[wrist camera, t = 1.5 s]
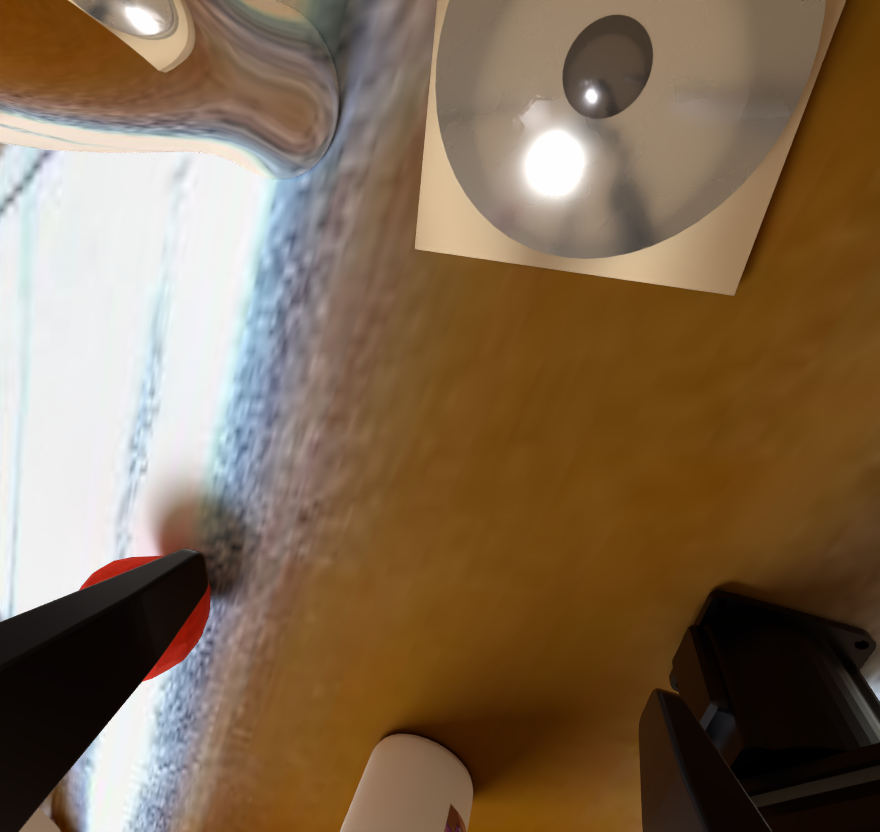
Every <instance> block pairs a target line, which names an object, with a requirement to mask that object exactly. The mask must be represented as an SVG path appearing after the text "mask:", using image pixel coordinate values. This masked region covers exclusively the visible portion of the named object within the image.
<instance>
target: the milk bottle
mask: <svg viewBox="0 0 880 832" xmlns="http://www.w3.org/2000/svg"><path fill="white" fill-rule="evenodd" d="M472 800H473V786H472V781H471V777H470V775H469V773H468V771H467V769H466V767H465V766H464V765H463V763H462V762H461V761H460V760H459V759H458V758H457V757H456V756H455V755H454V754H453V753H451V752H450V751H449V750H447V749H446V748H444V747H443V746H441V745H439V744H438V743H436V742H433V741H431V740H429V739H427V738H423V737H420V736H417V735H411V734H395V735H390V736H388V737H385V738H384V739H383V740H382V741H380V742H379V743H378V744H377V746H376V747H375V748H374V750H373V752H372V754H371V757H370V759H369V761H368V764H367V766H366V768H365V771H364V773H363V776H362V778H361V781H360V783H359V786H358V788H357V790H356V793H355V795H354V798H353V800H352V803H351V805H350V808H349V810H348V813H347V815H346V818H345V820H344V823H343V825H342V828H341V830H340V832H467V829H468V824H469V818H470V813H471V806H472Z"/></svg>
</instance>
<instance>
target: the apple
mask: <svg viewBox="0 0 880 832" xmlns="http://www.w3.org/2000/svg"><path fill="white" fill-rule="evenodd" d="M161 557H164V556H148V557H130V558H126V559H121V560H116V561H113V562H111V563H109V564H108V565H106V566H104V567H102V568H101V569H99V570H97V571H96V572H94V573H93V574H92V575H91V576H90V577H89V578H88V579H87V581H86V582H85V583H84V584H83V585H82V586H81V588H80V590H82V589H84V588H87V587H89V586H92V585H94V584H97V583H99V582H102V581H104V580H107V579H109V578H112V577H114V576H117V575H119V574H122V573H124V572H127V571H129V570H132V569H134V568H137V567H139V566H142V565H144V564H146V563H149V562H151V561H154V560H156V559H159V558H161ZM210 595H211V587H210V584H208V588H207V591H206V593H205V594H204V596H203V597H202V599H201V600H200V602H199V603H198V605H197V606H196V608H195V609H194V610H193V612H192V613H191V615H190V616H189V618H188V619H187V621H186V622H185V624H184V625H183V626H182V628H181V629H180V631H179V632H178V634H177V635H176V637H175V638H174V640H173V641H172V642H171V644H170V645H169V647H168V648H167V650H166V651H165V652H164V654H163V655H162V657H161V658H160V659H159V661H158V662H157V663H156V665H155V666H154V667H153V668H152V670H151V671H150V672H149V674H148V675H147V676H146V677H145V678H144V680H143V681H146V680H149V679H152V678H154V677H156V676H158V675H159V674H161V673H163V672H165V671H167V670H169V669H170V668H172V667H173V666H175V665H176V664H178V663H180V662H182V661H183V660H184V659H185V658H186V657H187V655H188V654H189V653H190V652H191V650H192V649H193V648H194V646H195V645H196V644H197V643H198V641H199V639H200V637H201V635H202V633H203V630H204V628H205V625H206V622H207V619H208V616H209V611H210ZM143 681H142V682H143Z"/></svg>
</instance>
